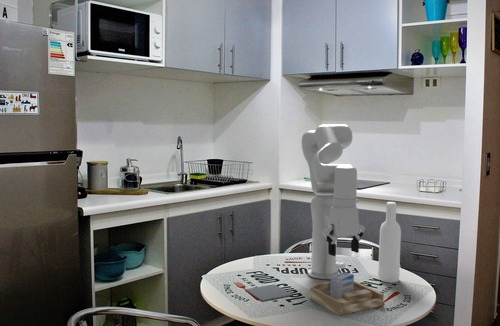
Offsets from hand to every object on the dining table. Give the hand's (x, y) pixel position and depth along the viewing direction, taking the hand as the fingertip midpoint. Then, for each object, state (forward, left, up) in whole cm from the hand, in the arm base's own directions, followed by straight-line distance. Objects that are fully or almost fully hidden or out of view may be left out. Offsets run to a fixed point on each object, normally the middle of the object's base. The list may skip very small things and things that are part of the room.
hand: (343, 253), depth 170 cm
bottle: (-30, -9, -17) cm, 36 cm away
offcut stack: (0, +7, -16) cm, 18 cm away
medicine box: (0, 0, -17) cm, 17 cm away
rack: (0, +2, -16) cm, 16 cm away
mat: (+19, -17, -16) cm, 30 cm away
